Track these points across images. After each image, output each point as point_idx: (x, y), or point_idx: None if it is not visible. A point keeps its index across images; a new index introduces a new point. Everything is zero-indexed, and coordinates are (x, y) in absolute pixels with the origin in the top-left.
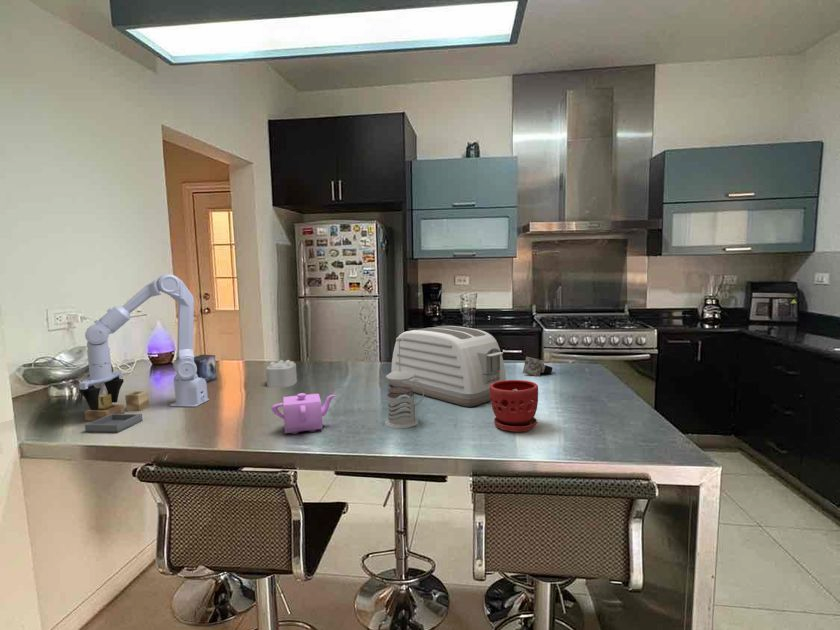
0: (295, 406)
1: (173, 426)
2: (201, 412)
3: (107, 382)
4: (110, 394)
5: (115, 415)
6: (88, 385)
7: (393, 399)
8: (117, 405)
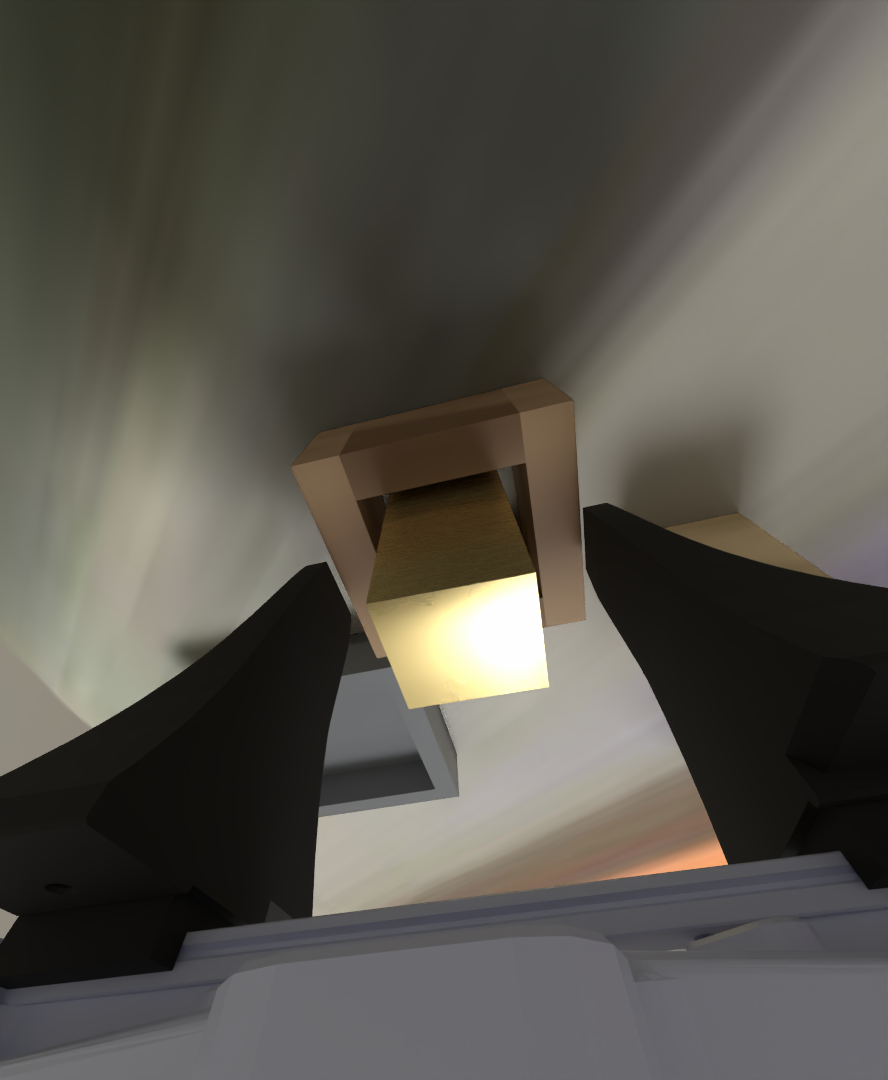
0: None
1: (439, 859)
2: (618, 840)
3: (783, 735)
4: (537, 687)
5: (395, 697)
6: (86, 1031)
7: None
8: (550, 598)
